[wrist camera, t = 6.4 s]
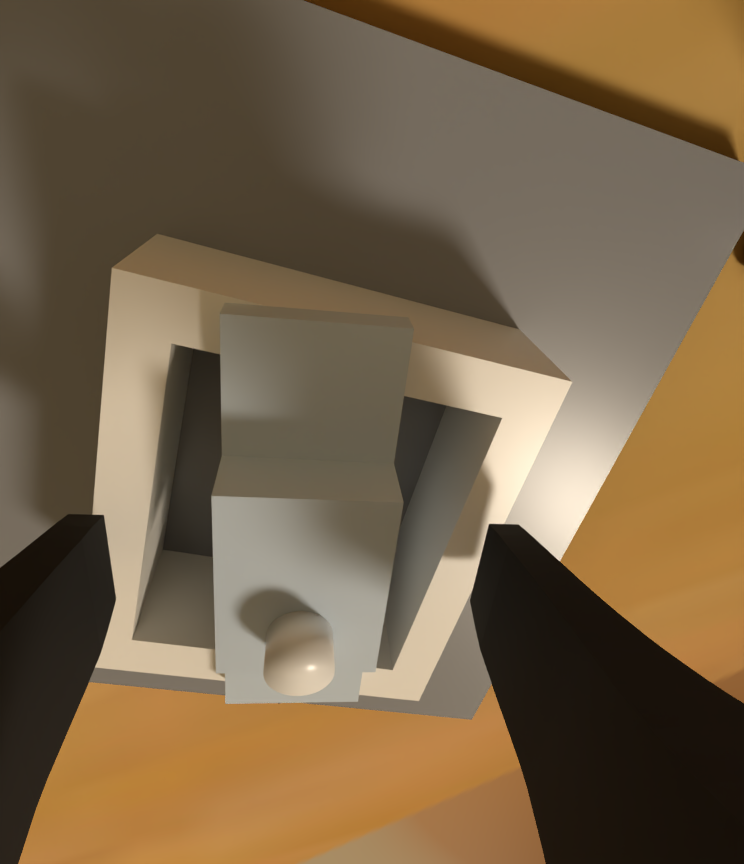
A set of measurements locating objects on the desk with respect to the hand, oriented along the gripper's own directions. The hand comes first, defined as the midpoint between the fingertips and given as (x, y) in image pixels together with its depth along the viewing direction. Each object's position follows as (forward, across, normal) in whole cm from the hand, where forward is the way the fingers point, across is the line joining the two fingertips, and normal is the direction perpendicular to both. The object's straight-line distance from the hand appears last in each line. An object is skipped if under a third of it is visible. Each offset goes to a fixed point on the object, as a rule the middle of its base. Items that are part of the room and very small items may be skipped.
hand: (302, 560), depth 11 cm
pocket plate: (+5, 0, 0) cm, 5 cm away
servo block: (+4, 0, 0) cm, 4 cm away
